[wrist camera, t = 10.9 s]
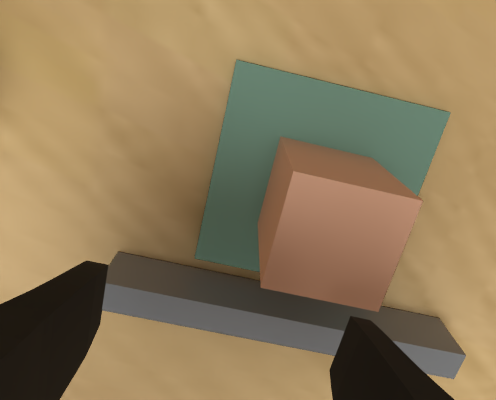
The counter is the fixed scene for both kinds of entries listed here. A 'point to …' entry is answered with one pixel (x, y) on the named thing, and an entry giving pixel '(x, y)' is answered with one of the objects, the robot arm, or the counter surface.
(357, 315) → the low wall
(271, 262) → the terracotta block
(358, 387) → the robot arm
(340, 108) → the rubber mat
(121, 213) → the counter surface
